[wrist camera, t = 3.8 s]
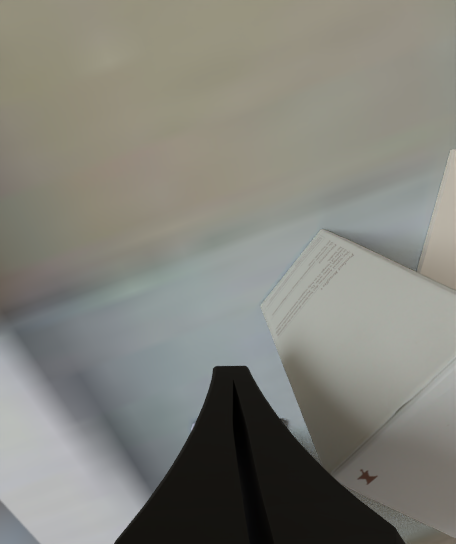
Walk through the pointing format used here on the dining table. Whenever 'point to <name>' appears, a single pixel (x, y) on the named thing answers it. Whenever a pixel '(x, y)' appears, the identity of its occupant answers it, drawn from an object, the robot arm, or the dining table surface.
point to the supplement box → (373, 373)
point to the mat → (442, 232)
